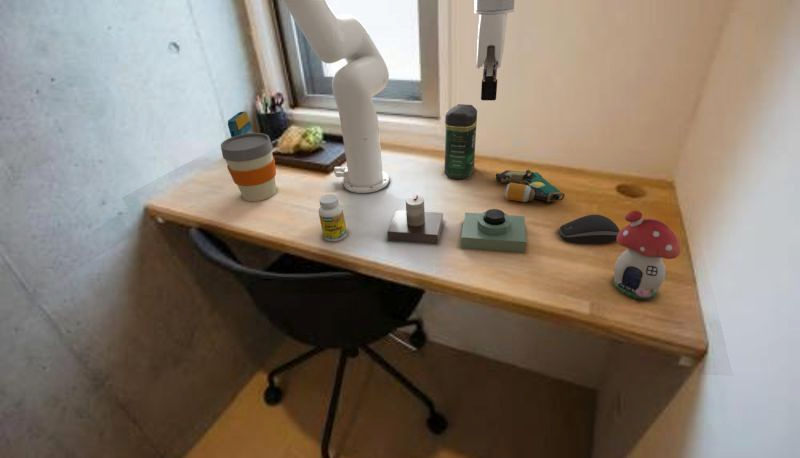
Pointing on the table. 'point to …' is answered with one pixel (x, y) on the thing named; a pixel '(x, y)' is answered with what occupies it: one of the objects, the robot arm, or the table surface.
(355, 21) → the robot arm
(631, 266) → the decorative ornament
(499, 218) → the button
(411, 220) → the dial
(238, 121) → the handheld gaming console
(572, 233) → the computer mouse
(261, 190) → the reusable coffee cup
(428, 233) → the dial panel
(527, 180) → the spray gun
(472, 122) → the coffee jar
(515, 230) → the green push button panel
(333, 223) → the supplement bottle
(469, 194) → the table surface
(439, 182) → the table surface
